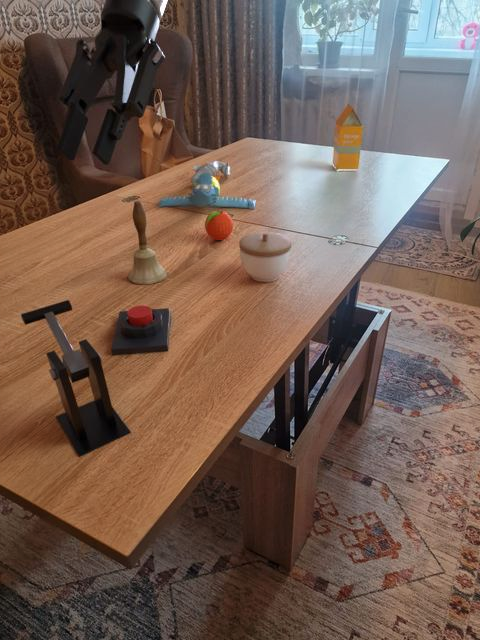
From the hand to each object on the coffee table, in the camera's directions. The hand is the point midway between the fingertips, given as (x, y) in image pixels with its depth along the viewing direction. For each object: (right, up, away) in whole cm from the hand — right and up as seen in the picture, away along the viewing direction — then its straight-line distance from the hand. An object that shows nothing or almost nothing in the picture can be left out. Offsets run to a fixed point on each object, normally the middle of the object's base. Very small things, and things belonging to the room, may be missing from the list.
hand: (82, 156), depth 66 cm
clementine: (+14, +1, +54) cm, 55 cm away
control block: (+4, -24, +18) cm, 31 cm away
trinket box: (+25, -11, +38) cm, 46 cm away
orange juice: (+54, +38, +106) cm, 125 cm away
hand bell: (0, -11, +38) cm, 39 cm away
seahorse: (+7, +30, +94) cm, 99 cm away
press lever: (-1, -26, -4) cm, 26 cm away
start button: (+4, -21, +16) cm, 27 cm away
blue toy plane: (+8, +15, +74) cm, 76 cm away
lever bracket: (+2, -37, 0) cm, 37 cm away
